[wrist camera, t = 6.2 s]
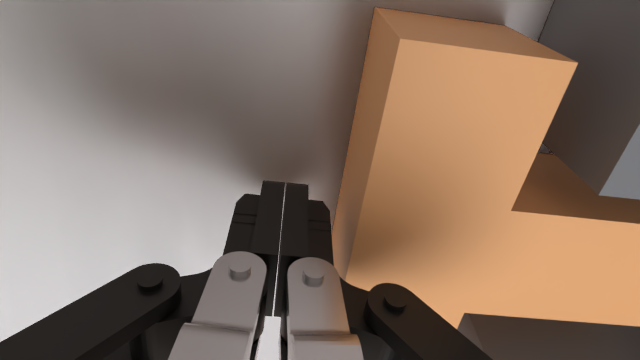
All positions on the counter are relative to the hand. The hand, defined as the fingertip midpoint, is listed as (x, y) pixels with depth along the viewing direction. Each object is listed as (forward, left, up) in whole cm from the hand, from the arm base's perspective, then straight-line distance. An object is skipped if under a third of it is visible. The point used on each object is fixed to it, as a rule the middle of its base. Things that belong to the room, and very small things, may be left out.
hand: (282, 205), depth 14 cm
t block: (0, +8, -2) cm, 8 cm away
